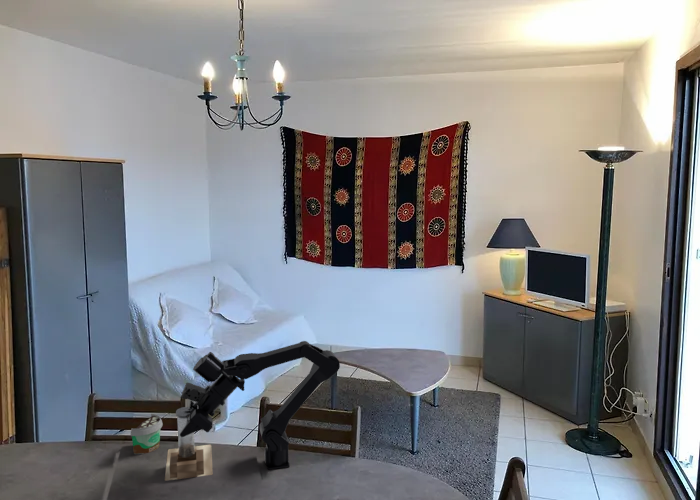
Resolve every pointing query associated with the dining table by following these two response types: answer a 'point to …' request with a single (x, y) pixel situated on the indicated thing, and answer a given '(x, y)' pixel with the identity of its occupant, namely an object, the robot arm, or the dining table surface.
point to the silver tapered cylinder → (187, 441)
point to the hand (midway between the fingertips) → (181, 432)
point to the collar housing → (189, 463)
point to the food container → (147, 435)
